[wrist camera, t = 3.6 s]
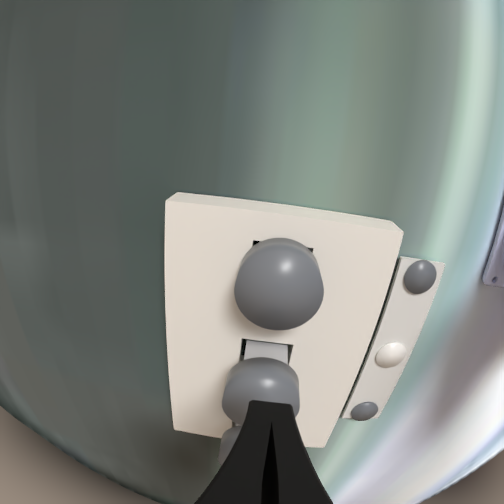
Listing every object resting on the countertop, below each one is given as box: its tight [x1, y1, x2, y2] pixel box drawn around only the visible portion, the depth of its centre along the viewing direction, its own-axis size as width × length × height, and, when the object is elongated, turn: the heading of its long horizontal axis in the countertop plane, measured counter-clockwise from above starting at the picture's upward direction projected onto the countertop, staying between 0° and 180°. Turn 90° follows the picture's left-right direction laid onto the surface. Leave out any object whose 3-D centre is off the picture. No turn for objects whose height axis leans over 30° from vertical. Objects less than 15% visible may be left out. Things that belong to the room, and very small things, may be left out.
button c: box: [218, 423, 242, 466], centre depth 20 cm, size 4×4×4 cm
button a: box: [234, 238, 324, 330], centre depth 16 cm, size 4×4×4 cm
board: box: [165, 192, 404, 447], centre depth 20 cm, size 12×18×2 cm, turn 174°
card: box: [342, 256, 445, 421], centre depth 20 cm, size 3×14×1 cm, turn 174°
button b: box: [222, 340, 300, 426], centre depth 17 cm, size 4×4×4 cm
